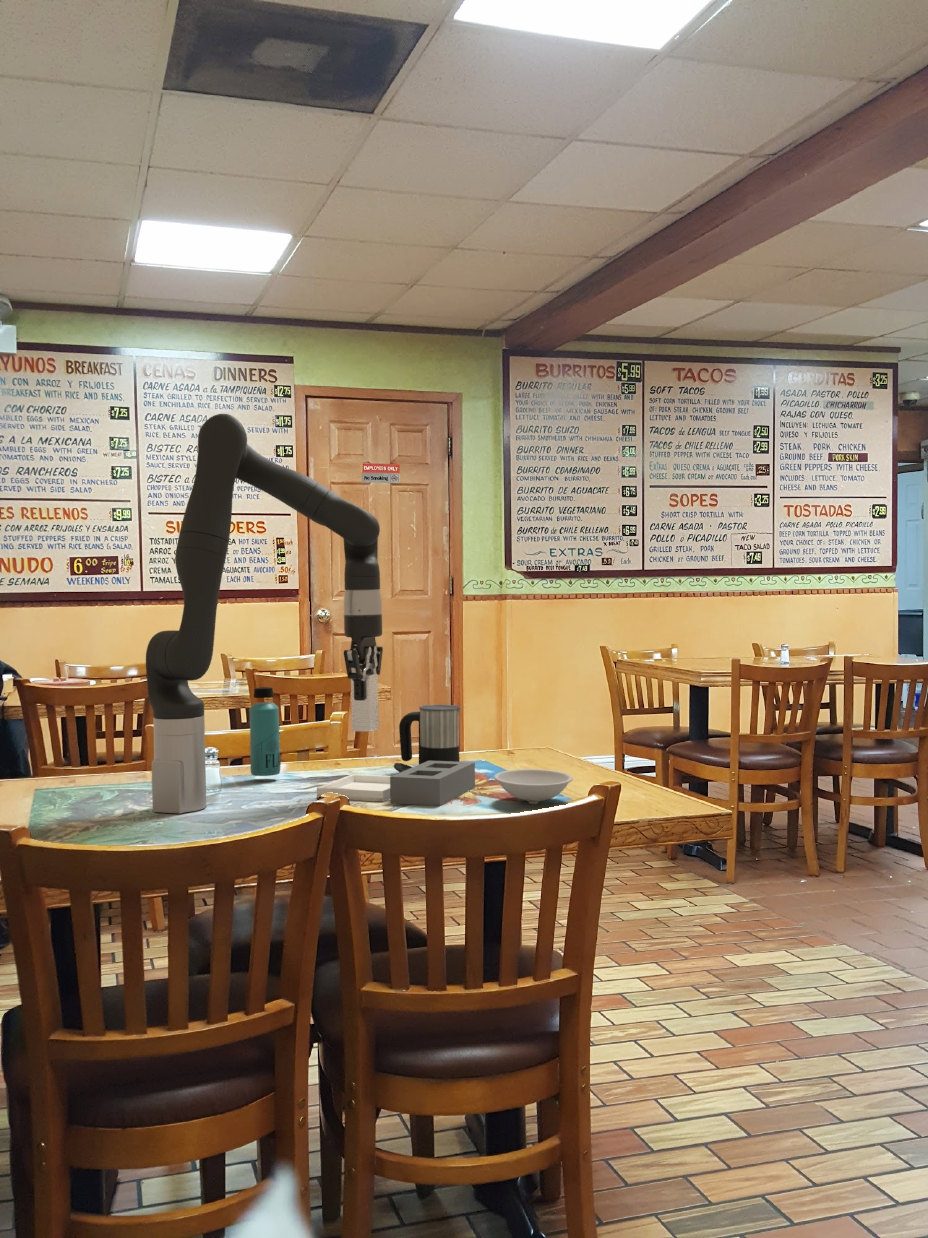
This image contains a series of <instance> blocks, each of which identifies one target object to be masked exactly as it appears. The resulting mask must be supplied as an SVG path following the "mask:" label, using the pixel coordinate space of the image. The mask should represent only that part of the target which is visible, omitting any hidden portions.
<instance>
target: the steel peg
mask: <svg viewBox="0 0 928 1238" xmlns="http://www.w3.org/2000/svg"><path fill="white" fill-rule="evenodd" d="M378 676H379V675H378V674H366V677H365V681H364V682H365V695H366V698H365V700H362V701H359V700H355V699H354V681H352V679H350V693H351V696H350V697H351V698H350V701H351V731H352V732H366V733H367V732H373V731H374V732H375V731H377V730H379V728H380V727H379V726H380V725H379V723H380V722H379V721H380V720H379V719H380V718H379V717H380V716H379V682H378V681H379V680H378V679H379V677H378Z"/></svg>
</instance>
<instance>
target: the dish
mask: <svg viewBox="0 0 928 1238" xmlns="http://www.w3.org/2000/svg"><path fill="white" fill-rule="evenodd" d="M493 778H494V780H495V781H496V782H498V783H499V785H500V786H501V788H502V789H503V790H504V791H505V792H507V794H509V795H510V796H511V797H514V798H516V799H519V800H523V801H527V802H528V804H530V805H537V804H538V803H539V802H540V801H541V802H542V801H546V800H549V799H550V800H551V799H554V798H555V797H556V796H558V795H560V794H561V793H562V792H563V791H564V790H565V789H566V788H567V786H568V785H569V784H570V783H571V782H572V781H573V780H574V777H573V776H572V775H571V774H568V773H566V772H564V771H558V770H551V769H541V768H539V769H537V768H530V769H529V768H523V769H510V770H509V769H508V770H503V771H500V772H497V773H496V774H494V776H493ZM538 805H539V804H538Z"/></svg>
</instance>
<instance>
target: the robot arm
mask: <svg viewBox="0 0 928 1238" xmlns="http://www.w3.org/2000/svg"><path fill="white" fill-rule="evenodd" d="M197 436H198V437H197V460H196V469H195V475H194V482H193V485H192V489H191V492H190V495H189V497H188V500H187V503H186V508H185V510H184V514H183V518H182V522H181V524H180V525H181V526H180V530H179V534H178V539H177V544H176V550H175V555H174V556H175V557H174V558H175V559H174V563H175V569H176V574H177V576H178V579H179V583H180V585H181V590H182V594H183V595H182V596H183V610H182V615H181V616H182V617H181V622H180V625H179V626H180V627H179V630H175V629H174V630H162V631H159V632H157V633H156V634H154V635H153V636H152V637H151V638H150V640H149V641H148V644H147V647H146V651H145V674H146V684H147V685H146V686H147V687H146V688H147V695H148V696H147V698H148V703H149V704H150V706H151V708H152V709H151V710H152V717H153V718H152V719H153V722H152V726H153V760H152V761H151V792H152V793H151V794H152V795H151V799H152V801H151V802H152V803H151V804H152V812H153V813H166V814H167V813H169V814H183V813H188V812H189V813H190V812H196V811H201V810H203V809H205V808H207V782H206V779H207V778H206V777H207V776H206V775H207V774H206V773H207V772H206V736H205V734H206V733H205V731H206V729H205V705H204V702H203V700H202V699H201V698H199V697H198V696H197V695H195V694H194V693H193V692H192V690H191V688H190V686H189V682H190V681H197V680H199V679H201V678H202V677H204V675H205V674H206V673H207V672H208V670H209V669H210V665H211V663H212V659H213V655H214V654H213V653H214V646H215V634H216V633H215V632H216V622H217V621H216V619H217V609H218V602H219V597H220V589H221V583H222V578H223V577H222V576H223V572H224V567H225V562H226V558H227V553H228V549H229V543H230V537H231V536H230V534H231V528H232V526H231V525H232V517H233V516H232V514H233V495H234V494H233V493H234V487H235V481H236V479H238V480H240V481H242V482H245V483H246V484H248V485H250V486H252V487H255V488H257V489H258V490H261V491H262V492H264V493H265V494H267V495H269V496H271V497H273V498H275V499H276V500H278V501H279V502H282V503H283V504H284V505H286V506H288V507H290V508H291V509H292V510H295V511H296V512H297V513H299V514H300V515H303V516H304V517H306V518H307V519H309V520H310V521H313V522H314V523H316V524H317V525H320V526H323V527H326V528H327V529H329V530H330V531H332V532H333V533H335V534H337V535H338V536H339V537H341V538H343V549H344V550H343V551H344V562H345V564H344V579H343V580H344V597H343V625H344V626H343V627H344V631H343V632H344V634H343V635H344V636H345V637H346V638H351V639H350V640H351V641H350V648H349V649H344V650H343V657H344V665H345V668H346V669H345V670H346V675H347V679H350V680H351V679H352V681H354V699H355V700H359V701H362V700H365V698H366V695H365V682H364V681H365V677H366V674H378V676H380V675H381V669H382V668H381V667H382V659H383V652H384V650H383V649H384V647H383V646H379V645H377V640H376V637H377V638H379V637H381V636H382V635H383V609H382V606H383V605H382V604H383V603H382V595H381V573H380V566H379V562H378V556H379V555H378V554H379V553H378V551H379V549H378V546H379V544H378V543H379V542H378V541H379V536H380V523H379V521H378V519H377V518H376V517H375V515H373V514H372V513H370V512H369V511H367V510H366V509H364V508H362V507H360V506H358V505H357V504H354V503H353V502H350V501H348V500H346V499H345V498H342V497H341V496H339V495H338V494H337V493H335V492H334V491H333V490H331V489H329V488H328V487H326V486H325V485H323V484H321V483H320V482H318V481H316V480H315V479H313V478H312V477H309V476H307V475H306V474H303V473H301V472H298V471H296V470H293V469H291V468H287V467H285V466H283V465H280V464H277V463H275V462H274V461H271V460H270V459H268V458H266V457H264V456H263V455H261V454H260V453H259V452H257V450H255V449H254V448H253V447H251V446H250V445H249V444H248V436H247V433H246V430H245V428H244V426H243V424H242V422H241V421H239V419H238V418H236V417H235V416H233V415H231V414H228V413H218V414H214V415H212V416H210V417H209V418H208V419H207V420H206V421H204V423H203V424H202V425H201V426H200V429H199V431H198V435H197Z"/></svg>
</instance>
